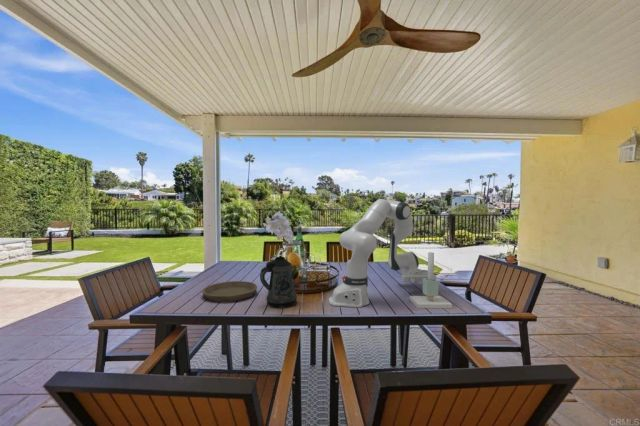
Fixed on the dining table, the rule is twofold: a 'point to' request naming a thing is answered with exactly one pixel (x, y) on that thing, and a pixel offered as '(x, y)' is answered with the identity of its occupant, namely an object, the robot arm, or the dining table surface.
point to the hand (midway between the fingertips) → (423, 281)
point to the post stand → (430, 300)
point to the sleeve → (430, 287)
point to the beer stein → (279, 283)
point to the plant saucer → (229, 291)
